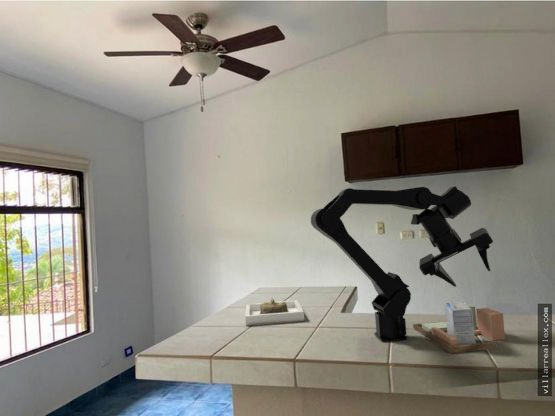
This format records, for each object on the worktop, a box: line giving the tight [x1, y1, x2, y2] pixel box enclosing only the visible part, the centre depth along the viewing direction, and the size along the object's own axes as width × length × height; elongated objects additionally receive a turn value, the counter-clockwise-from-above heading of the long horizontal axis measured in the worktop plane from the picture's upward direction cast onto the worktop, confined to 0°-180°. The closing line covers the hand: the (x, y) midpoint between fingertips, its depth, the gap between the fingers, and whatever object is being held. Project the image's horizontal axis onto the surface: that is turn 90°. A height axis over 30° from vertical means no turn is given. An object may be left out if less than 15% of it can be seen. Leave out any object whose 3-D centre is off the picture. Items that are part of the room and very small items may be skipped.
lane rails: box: [412, 320, 498, 354], centre depth 97 cm, size 11×20×1 cm, turn 3°
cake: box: [260, 298, 289, 314], centre depth 131 cm, size 10×10×5 cm
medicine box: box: [444, 301, 477, 345], centre depth 93 cm, size 8×4×9 cm, turn 168°
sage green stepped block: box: [421, 302, 478, 331], centre depth 103 cm, size 12×5×6 cm, turn 93°
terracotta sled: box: [431, 307, 506, 346], centre depth 94 cm, size 15×10×6 cm
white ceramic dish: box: [244, 299, 305, 327], centre depth 131 cm, size 18×18×3 cm
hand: (472, 278), depth 103 cm, fingers open, 9 cm apart
